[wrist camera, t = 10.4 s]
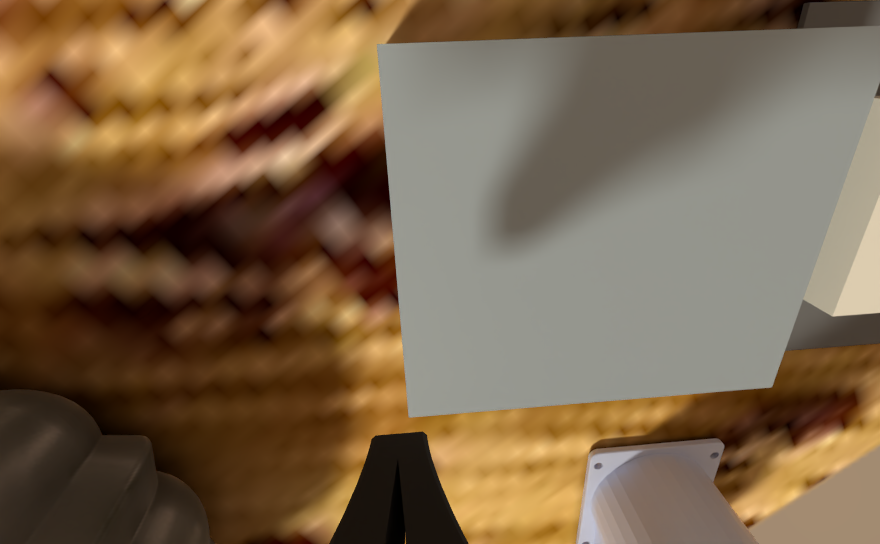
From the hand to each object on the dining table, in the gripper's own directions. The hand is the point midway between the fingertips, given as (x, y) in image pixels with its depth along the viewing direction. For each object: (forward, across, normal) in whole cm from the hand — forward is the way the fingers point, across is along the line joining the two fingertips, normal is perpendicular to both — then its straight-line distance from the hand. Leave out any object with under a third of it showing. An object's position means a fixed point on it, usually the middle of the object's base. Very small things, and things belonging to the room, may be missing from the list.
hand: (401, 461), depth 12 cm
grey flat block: (+10, -8, -3) cm, 13 cm away
